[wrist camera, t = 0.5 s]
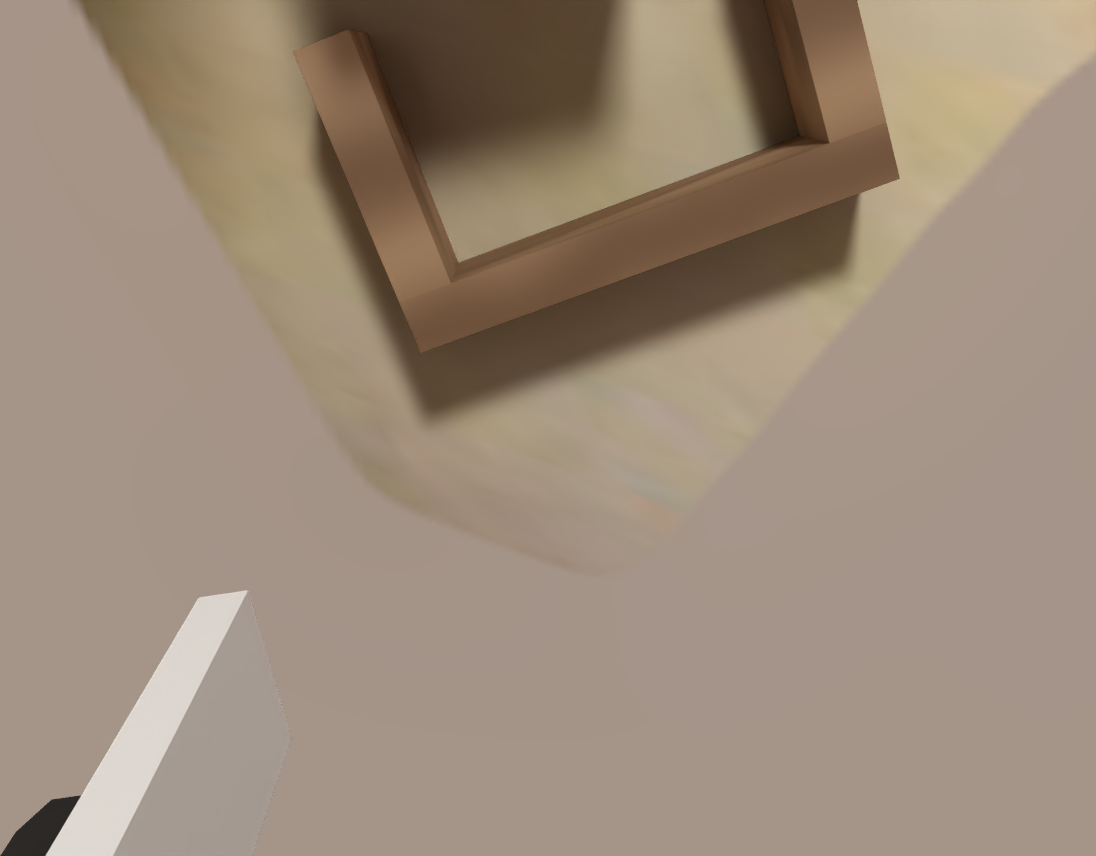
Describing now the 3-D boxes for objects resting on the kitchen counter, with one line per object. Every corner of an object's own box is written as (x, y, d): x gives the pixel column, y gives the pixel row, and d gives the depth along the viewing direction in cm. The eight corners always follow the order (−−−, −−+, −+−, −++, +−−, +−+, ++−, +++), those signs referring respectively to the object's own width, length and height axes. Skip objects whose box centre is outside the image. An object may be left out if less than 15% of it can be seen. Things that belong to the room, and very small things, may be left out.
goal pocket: (316, 53, 37) (292, 51, 33) (787, -136, 35) (818, -160, 32) (430, 326, 41) (420, 352, 37) (863, 168, 39) (899, 178, 35)
